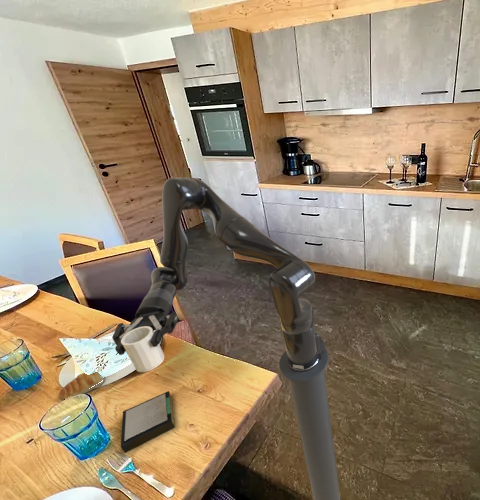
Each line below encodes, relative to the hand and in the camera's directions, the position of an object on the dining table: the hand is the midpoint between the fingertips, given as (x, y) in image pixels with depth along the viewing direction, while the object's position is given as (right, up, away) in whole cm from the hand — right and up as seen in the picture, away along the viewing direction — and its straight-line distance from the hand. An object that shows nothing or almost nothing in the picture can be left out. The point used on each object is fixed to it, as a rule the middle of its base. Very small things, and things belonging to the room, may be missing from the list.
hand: (137, 348), depth 69 cm
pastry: (-23, -15, +12) cm, 30 cm away
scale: (+2, -19, +2) cm, 19 cm away
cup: (0, -5, +5) cm, 7 cm away
